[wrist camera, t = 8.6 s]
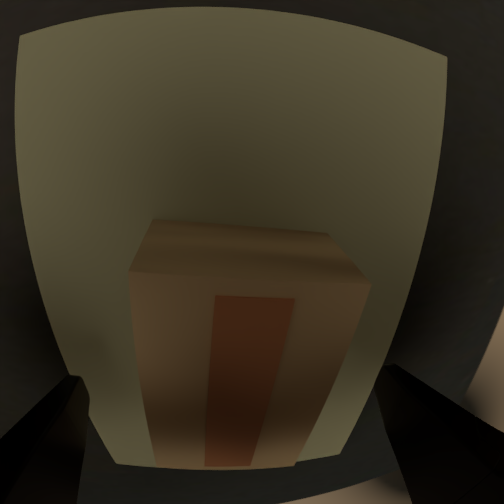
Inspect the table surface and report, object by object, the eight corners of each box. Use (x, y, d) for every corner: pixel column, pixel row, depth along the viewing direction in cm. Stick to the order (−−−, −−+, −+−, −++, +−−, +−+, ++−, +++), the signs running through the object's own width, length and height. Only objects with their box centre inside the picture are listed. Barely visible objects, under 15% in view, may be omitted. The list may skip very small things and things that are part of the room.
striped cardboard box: (152, 219, 8) (127, 272, 6) (327, 232, 9) (372, 285, 6) (161, 406, 12) (156, 468, 9) (279, 408, 12) (294, 466, 10)
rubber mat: (336, 446, 16) (339, 453, 15) (117, 455, 14) (115, 463, 14) (436, 58, 8) (447, 57, 7) (29, 38, 6) (20, 36, 5)
